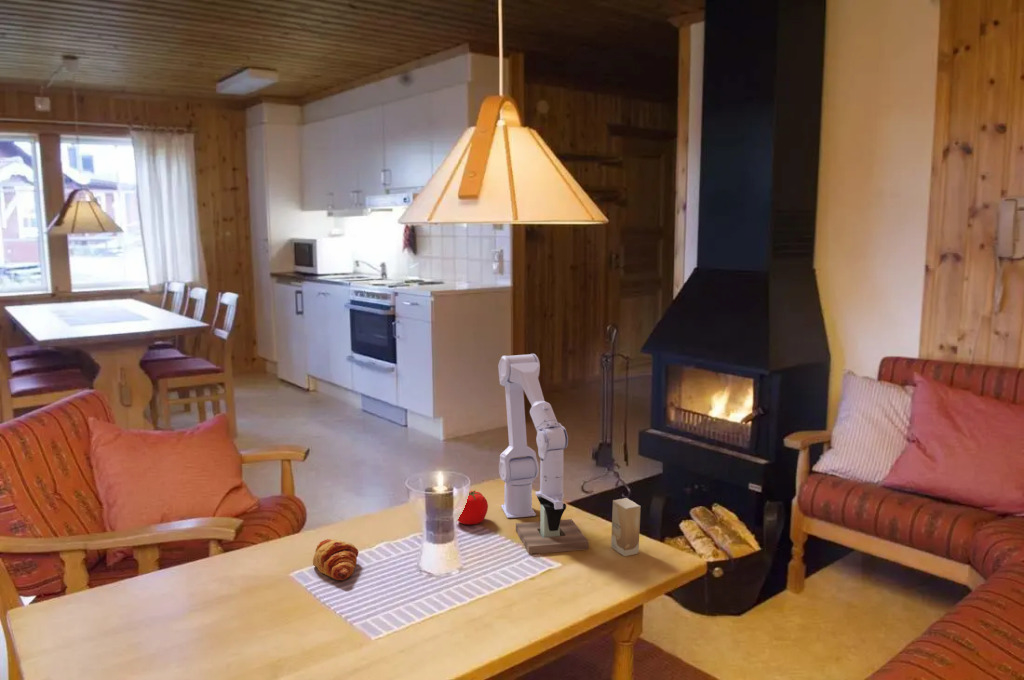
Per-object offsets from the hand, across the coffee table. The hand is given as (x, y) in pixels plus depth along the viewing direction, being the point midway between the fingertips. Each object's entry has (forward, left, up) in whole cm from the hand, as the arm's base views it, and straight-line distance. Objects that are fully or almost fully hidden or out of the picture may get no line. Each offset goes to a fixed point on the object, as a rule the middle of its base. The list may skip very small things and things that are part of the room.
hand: (551, 526), depth 197 cm
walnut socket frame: (0, 0, -3) cm, 3 cm away
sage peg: (0, 0, -3) cm, 3 cm away
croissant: (+5, -53, -4) cm, 53 cm away
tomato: (-16, -18, -4) cm, 24 cm away
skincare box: (+10, +16, -4) cm, 19 cm away
